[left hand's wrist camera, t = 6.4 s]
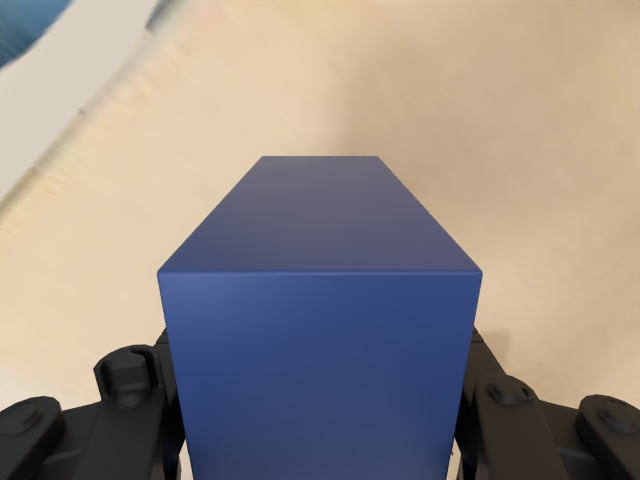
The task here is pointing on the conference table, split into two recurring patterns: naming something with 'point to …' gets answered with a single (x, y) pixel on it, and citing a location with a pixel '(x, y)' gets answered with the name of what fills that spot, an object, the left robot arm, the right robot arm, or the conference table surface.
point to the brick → (319, 327)
